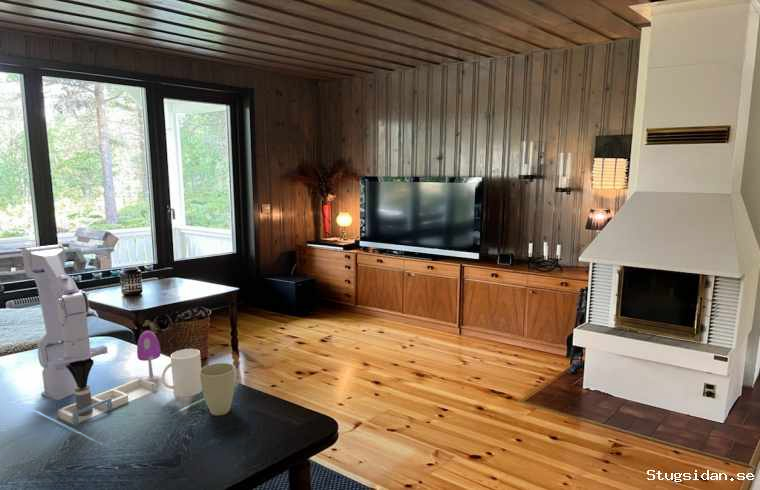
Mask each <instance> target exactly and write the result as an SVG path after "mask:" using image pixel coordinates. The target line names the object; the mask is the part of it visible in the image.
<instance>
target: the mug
mask: <svg viewBox="0 0 760 490" xmlns="http://www.w3.org/2000/svg"><path fill="white" fill-rule="evenodd" d="M201 359H202V358H201V351H200V350H199V349H196V348H184V349H180V350H176V351H174V352H172V353H171V354H170V362H169V363H168V364H167V365H166V366H165V367H164V369H163V372H162V374H161V380H162V383H163V386H165V387H166V388H168V389H170V390H172V391H173V395H174V396H175V397H178V398H179V397H180V398H187V397H192V396H196V395H198V394H200V393H203V391H202V385H201V379H200V370H201V369H202V360H201ZM169 368H171V373H172V374H171V376H172V385H169V384H167V382H166V381H165V374H166V372H167V370H168V369H169Z"/></svg>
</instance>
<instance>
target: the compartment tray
mask: <svg viewBox="0 0 760 490" xmlns="http://www.w3.org/2000/svg"><path fill="white" fill-rule="evenodd" d="M156 391H158V385H157V382H153V381H151V380H147V379H145V378H142V377H139V378H137V379H134V380H131V381H130V382H129V381H128V382H126V383H124V384H121V385H118V386H116V387H113V388H111V389H108V390H106V391H103V392H101V393H97V394H95V395H93V396H92V395H91V400H92V405H90V406H88V407H85V408H83V409H80V410H78V411H77V406H76V402H75V403H72V404H69V405H66V406H63V407H61V408H59V409H57V410H56V411H57V417H58V418H59V419H61V420H64V421H66V422H68V423H69V424H72V425H73V426H76V425H77V426H78V425H79V424H80V423H82V422H83V421H86V420H89V419H91V418H94V417H96V416H99V415H100V414H101V415H102V414H104V413H106V412H111V411H113V409H115V408H118V407H120V406H122V405H125V404H128V403H129V402H131V401H135V400H138V399H139V398H142V397H144V396H146V395H149V394H151V393H154V392H156ZM92 408H93V412H92V413H91V414H89V415H86V416H78V414H79V413H82V412H84V411H87V410H89V409H92Z"/></svg>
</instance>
